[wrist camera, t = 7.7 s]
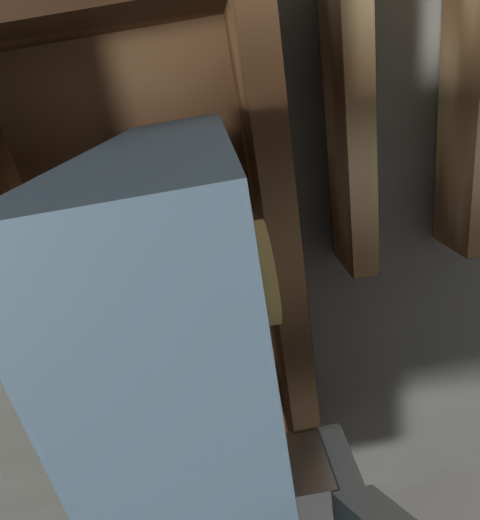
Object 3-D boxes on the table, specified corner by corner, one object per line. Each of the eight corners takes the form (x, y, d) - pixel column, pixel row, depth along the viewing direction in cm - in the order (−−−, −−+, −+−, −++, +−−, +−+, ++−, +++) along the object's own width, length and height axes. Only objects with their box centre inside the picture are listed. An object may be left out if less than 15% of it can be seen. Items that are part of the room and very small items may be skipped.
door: (133, 127, 11) (-75, 234, 3) (228, 110, 11) (287, 171, 3) (221, 474, 17) (233, 848, 9) (285, 463, 17) (359, 825, 9)
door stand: (301, -219, 12) (325, -294, 9) (485, -248, 12) (553, -331, 9) (334, 254, 18) (354, 279, 15) (455, 232, 18) (492, 254, 15)
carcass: (-53, 29, 13) (-189, -2, 9) (246, -21, 13) (269, -78, 9) (126, 485, 22) (106, 589, 17) (306, 451, 22) (333, 546, 18)
